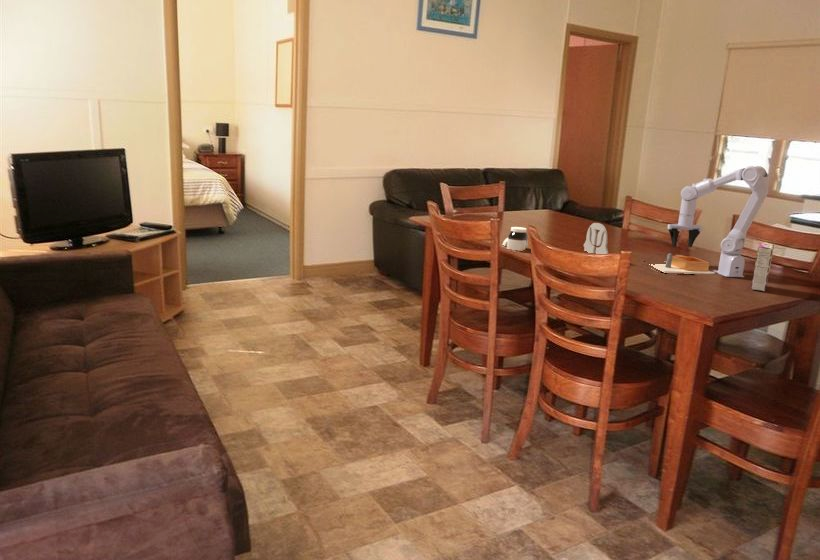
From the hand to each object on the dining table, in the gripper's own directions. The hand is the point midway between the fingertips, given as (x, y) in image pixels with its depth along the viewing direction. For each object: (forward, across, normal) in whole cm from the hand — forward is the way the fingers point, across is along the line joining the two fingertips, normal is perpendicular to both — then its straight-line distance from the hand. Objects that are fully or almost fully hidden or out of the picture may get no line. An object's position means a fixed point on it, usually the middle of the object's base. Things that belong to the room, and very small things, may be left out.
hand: (681, 246), depth 267 cm
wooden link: (+8, 0, +8) cm, 11 cm away
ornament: (+9, +42, -4) cm, 44 cm away
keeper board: (+9, +4, +6) cm, 12 cm away
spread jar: (+9, +69, -17) cm, 71 cm away
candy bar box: (+9, -12, +36) cm, 39 cm away
